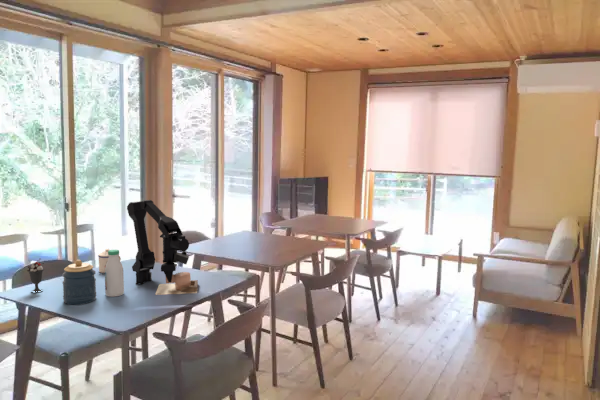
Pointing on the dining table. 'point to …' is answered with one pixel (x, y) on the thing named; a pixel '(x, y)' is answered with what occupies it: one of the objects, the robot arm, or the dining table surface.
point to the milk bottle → (114, 275)
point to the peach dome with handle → (181, 280)
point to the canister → (79, 283)
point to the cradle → (171, 289)
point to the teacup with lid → (103, 260)
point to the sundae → (36, 274)
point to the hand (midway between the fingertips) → (170, 281)
